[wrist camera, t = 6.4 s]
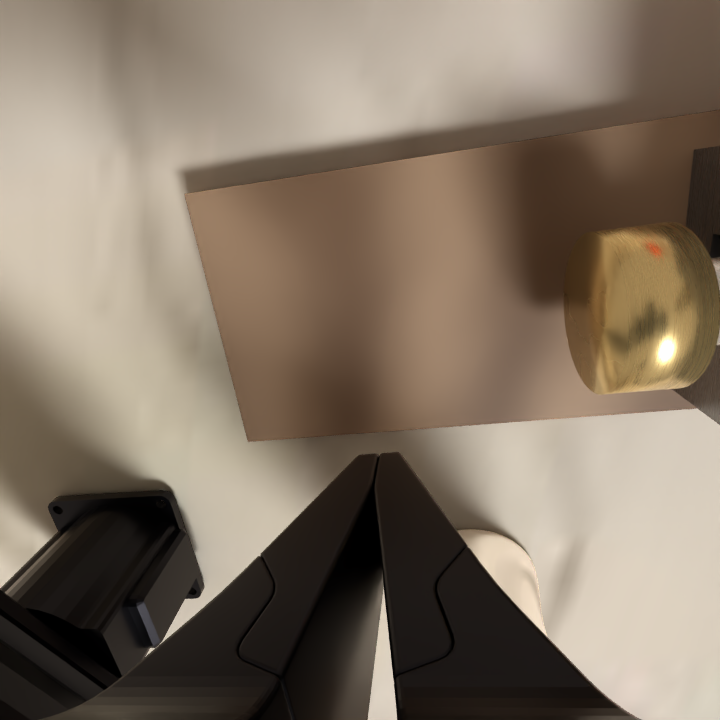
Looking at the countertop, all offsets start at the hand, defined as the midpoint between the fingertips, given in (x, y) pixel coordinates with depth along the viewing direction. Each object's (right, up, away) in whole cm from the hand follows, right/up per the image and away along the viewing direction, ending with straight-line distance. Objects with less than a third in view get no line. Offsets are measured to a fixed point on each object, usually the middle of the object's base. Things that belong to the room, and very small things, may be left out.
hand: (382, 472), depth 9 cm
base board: (+5, +5, +8) cm, 10 cm away
